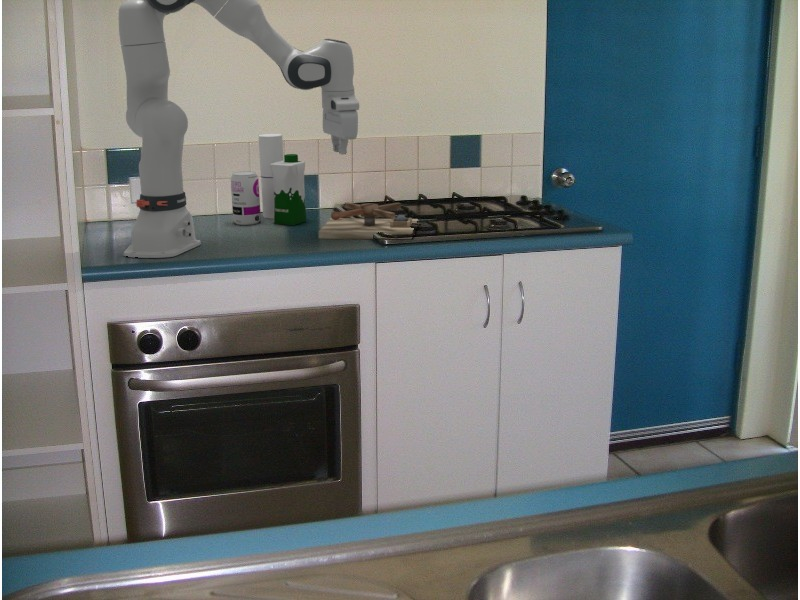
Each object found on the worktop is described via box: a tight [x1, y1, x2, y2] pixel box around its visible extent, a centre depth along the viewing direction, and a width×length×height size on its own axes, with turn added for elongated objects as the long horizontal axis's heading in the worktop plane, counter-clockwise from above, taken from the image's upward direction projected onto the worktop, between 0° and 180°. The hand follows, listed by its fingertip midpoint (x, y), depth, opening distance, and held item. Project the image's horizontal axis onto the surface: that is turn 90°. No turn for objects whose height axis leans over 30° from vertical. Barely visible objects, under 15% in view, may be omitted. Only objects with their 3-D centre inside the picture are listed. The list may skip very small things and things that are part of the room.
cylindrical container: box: [258, 133, 284, 220], centre depth 282 cm, size 7×7×25 cm
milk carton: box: [270, 153, 307, 226], centre depth 273 cm, size 9×9×20 cm
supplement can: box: [230, 170, 262, 226], centre depth 274 cm, size 8×8×15 cm
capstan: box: [330, 201, 402, 220], centre depth 259 cm, size 22×24×3 cm
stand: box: [318, 217, 419, 240], centre depth 261 cm, size 18×26×4 cm
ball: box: [395, 214, 407, 221], centre depth 260 cm, size 3×3×3 cm
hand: (339, 153), depth 251 cm, fingers open, 4 cm apart
